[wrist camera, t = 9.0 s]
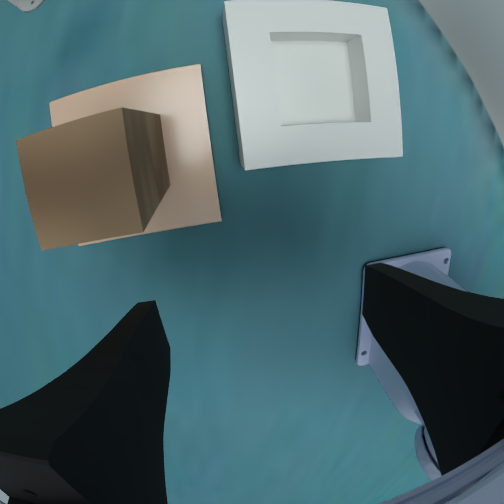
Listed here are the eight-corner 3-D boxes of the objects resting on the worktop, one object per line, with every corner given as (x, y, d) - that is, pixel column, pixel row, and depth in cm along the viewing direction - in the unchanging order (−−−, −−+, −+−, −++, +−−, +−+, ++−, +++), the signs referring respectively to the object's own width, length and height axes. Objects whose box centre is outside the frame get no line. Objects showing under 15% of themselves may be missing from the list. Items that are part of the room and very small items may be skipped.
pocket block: (381, 151, 19) (402, 156, 16) (240, 164, 18) (245, 170, 16) (367, 18, 15) (386, 8, 13) (222, 16, 14) (224, 1, 12)
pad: (221, 218, 19) (221, 221, 18) (82, 242, 18) (78, 246, 18) (200, 65, 15) (200, 64, 15) (53, 102, 15) (49, 102, 14)
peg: (170, 185, 17) (143, 232, 10) (104, 197, 17) (41, 250, 10) (160, 114, 16) (121, 107, 8) (91, 130, 15) (16, 140, 8)
